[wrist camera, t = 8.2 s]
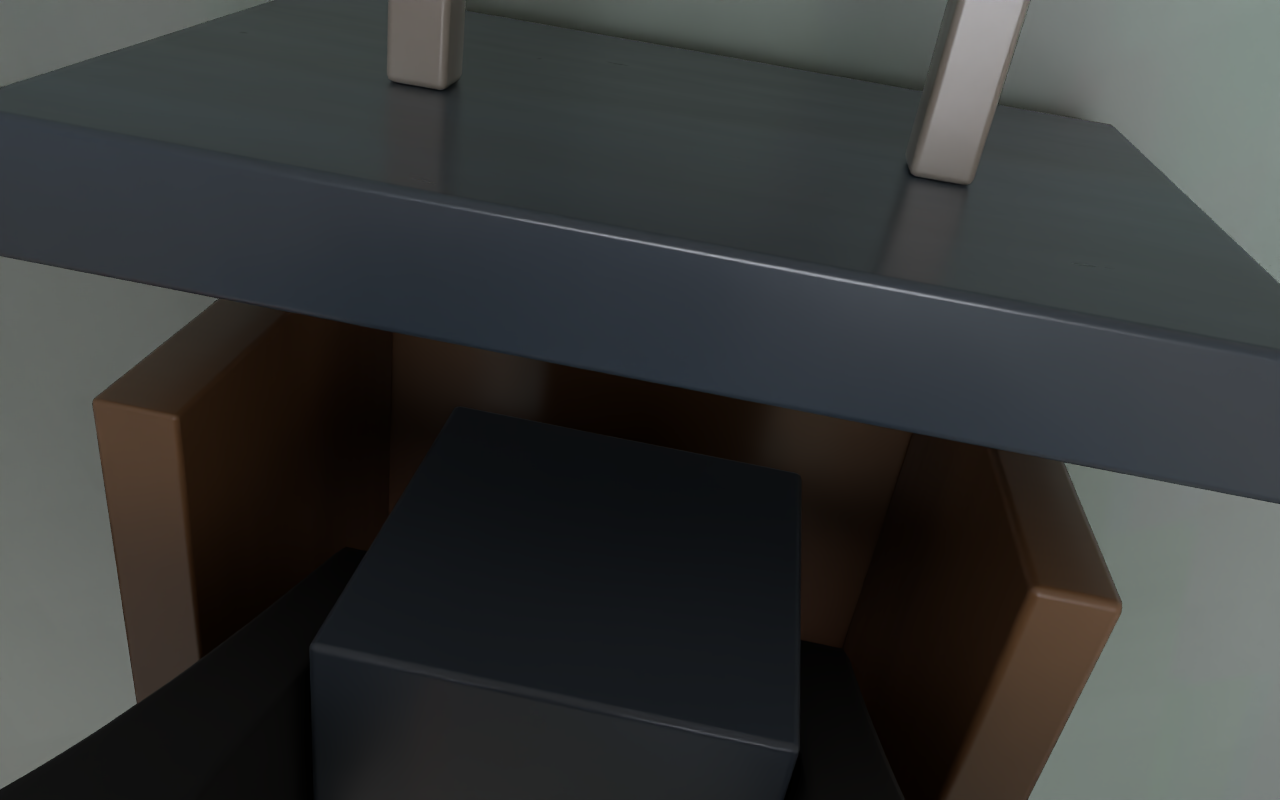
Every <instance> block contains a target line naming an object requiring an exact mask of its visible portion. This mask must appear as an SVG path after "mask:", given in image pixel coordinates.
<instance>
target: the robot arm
mask: <svg viewBox="0 0 1280 800" xmlns="http://www.w3.org/2000/svg"><path fill="white" fill-rule="evenodd" d="M366 552H367V551H364V550H359V549H354V548H349V547H345V548H343V549H341V550H340V551H338V552H336V553H335V554H334V555H332V556H331V557H330V558H329V559H328V560H326V561H325V562H324V563H323V564H321V565H320V566H319V567H318V568H316V569H315V570H314V571H313V572H311V573H310V574H309V575H308V576H307V577H305V578H304V579H303V580H302V581H300V582H299V583H298V584H297V585H295V586H294V587H293V588H292V589H290V590H289V591H288V592H287V593H286V594H284V595H283V596H282V597H281V598H279V599H278V600H277V601H276V602H274V603H273V604H272V605H270V606H269V607H268V608H267V609H265V610H264V611H263V612H262V613H260V614H259V615H258V616H257V617H255V618H254V619H253V620H251V621H250V622H249V623H248V624H246V625H245V626H244V627H242V628H241V629H240V630H238V631H237V632H236V633H234V634H233V635H232V636H230V637H229V638H228V639H226V640H225V641H224V642H222V643H221V644H220V645H218V646H217V647H216V648H214V649H213V650H212V651H210V652H209V653H208V654H206V655H205V656H204V657H202V658H201V659H200V660H198V661H197V662H196V663H194V664H193V665H192V666H190V667H189V668H188V669H186V670H185V671H184V672H182V673H181V674H179V675H178V676H177V677H175V678H174V679H172V680H171V681H170V682H168V683H167V684H165V685H164V686H162V687H161V688H159V689H158V690H156V691H155V692H154V693H152V694H151V695H149V696H148V697H146V698H145V699H143V700H142V701H140V702H139V703H137V704H136V705H134V706H133V707H132V708H130V709H129V710H127V711H126V712H124V713H123V714H121V715H120V716H118V717H117V718H115V719H114V720H112V721H111V722H110V723H108V724H107V725H105V726H104V727H102V728H101V729H99V730H98V731H96V732H94V733H93V734H91V735H90V736H88V737H87V738H85V739H83V740H82V741H80V742H79V743H77V744H76V745H74V746H72V747H71V748H69V749H68V750H66V751H64V752H63V753H61V754H60V755H58V756H56V757H55V758H53V759H51V760H50V761H48V762H46V763H45V764H43V765H42V766H40V767H38V768H36V769H35V770H33V771H31V772H30V773H28V774H26V775H25V776H23V777H21V778H19V779H18V780H16V781H14V782H13V783H11V784H9V785H7V786H6V787H4V788H2V789H1V790H0V800H314V799H313V763H312V728H311V692H310V657H309V646H310V644H311V643H312V641H313V639H314V638H315V636H316V634H317V633H318V631H319V629H320V628H321V626H322V624H323V623H324V621H325V620H326V618H327V616H328V615H329V613H330V611H331V610H332V608H333V606H334V605H335V603H336V602H337V600H338V598H339V597H340V595H341V593H342V592H343V590H344V588H345V587H346V585H347V583H348V582H349V580H350V579H351V577H352V575H353V574H354V572H355V570H356V569H357V567H358V565H359V564H360V562H361V561H362V559H363V557H364V556H365V554H366ZM784 800H905V798H904V796H903V794H902V792H901V790H900V787H899V785H898V783H897V781H896V778H895V776H894V774H893V771H892V769H891V767H890V765H889V762H888V760H887V757H886V755H885V753H884V750H883V748H882V745H881V743H880V740H879V738H878V735H877V733H876V730H875V728H874V726H873V723H872V720H871V718H870V715H869V713H868V710H867V707H866V705H865V702H864V699H863V697H862V694H861V691H860V688H859V685H858V682H857V680H856V677H855V674H854V671H853V668H852V665H851V662H850V659H849V657H848V656H847V655H846V653H845V652H844V650H843V649H842V648H837V647H832V646H827V645H822V644H818V643H813V642H808V641H803V640H801V644H800V751H799V754H798V757H797V761H796V764H795V767H794V770H793V773H792V776H791V779H790V782H789V786H788V789H787V792H786V795H785V798H784Z"/></svg>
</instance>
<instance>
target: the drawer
mask: <svg viewBox="0 0 1280 800" xmlns="http://www.w3.org/2000/svg"><path fill="white" fill-rule="evenodd" d="M1030 1H1031V0H948V2H947V6H946V9H945V13H944V17H943V20H942V24H941V27H940V31H939V35H938V38H937V42H936V45H935V49H934V53H933V56H932V60H931V63H930V67H929V71H928V74H927V78H926V81H925V85H924V89H923V91H918V90H912V89H907V88H901V87H895V86H890V85H884V84H879V83H873V82H867V81H862V80H856V79H850V78H845V77H839V76H833V75H828V74H822V73H816V72H811V71H805V70H799V69H794V68H788V67H782V66H777V65H771V64H765V63H760V62H754V61H748V60H743V59H737V58H732V57H726V56H720V55H715V54H709V53H703V52H698V51H692V50H686V49H681V48H675V47H669V46H664V45H658V44H652V43H647V42H641V41H635V40H630V39H624V38H618V37H613V36H607V35H601V34H596V33H590V32H584V31H579V30H573V29H568V28H562V27H556V26H551V25H545V24H539V23H534V22H528V21H522V20H517V19H511V18H505V17H500V16H494V15H488V14H483V13H477V12H471V11H466V10H465V6H466V0H273V1H270V2H267V3H264V4H261V5H258V6H255V7H251V8H248V9H245V10H242V11H239V12H236V13H233V14H229V15H226V16H223V17H220V18H217V19H214V20H211V21H207V22H204V23H201V24H198V25H195V26H192V27H189V28H186V29H182V30H179V31H176V32H173V33H170V34H167V35H164V36H160V37H157V38H154V39H151V40H148V41H145V42H142V43H138V44H135V45H132V46H129V47H126V48H123V49H120V50H117V51H113V52H110V53H107V54H104V55H101V56H98V57H95V58H91V59H88V60H85V61H82V62H79V63H76V64H73V65H69V66H66V67H63V68H60V69H57V70H54V71H51V72H47V73H44V74H41V75H38V76H35V77H32V78H29V79H26V80H22V81H19V82H16V83H13V84H10V85H7V86H4V87H0V256H3V257H8V258H13V259H18V260H24V261H29V262H34V263H39V264H44V265H49V266H55V267H60V268H65V269H70V270H75V271H80V272H85V273H91V274H96V275H101V276H106V277H111V278H116V279H122V280H127V281H132V282H137V283H142V284H147V285H153V286H158V287H163V288H168V289H173V290H178V291H184V292H189V293H194V294H199V295H204V296H209V297H214V298H219V299H218V300H217V301H215V302H214V303H213V304H212V305H210V306H209V307H208V308H207V309H205V310H204V311H203V312H202V313H200V314H199V315H198V316H197V317H195V318H194V319H193V320H192V321H190V322H189V323H188V324H187V325H185V326H184V327H183V328H182V329H180V330H179V331H178V332H177V333H175V334H174V335H173V336H172V337H170V338H169V339H168V340H167V341H165V342H164V343H163V344H162V345H160V346H159V347H158V348H157V349H155V350H154V351H153V352H152V353H150V354H149V355H148V356H147V357H145V358H144V359H143V360H142V361H140V362H139V363H138V364H137V365H135V366H134V367H133V368H132V369H130V370H129V371H128V372H127V373H125V374H124V375H123V376H122V377H120V378H119V379H118V380H117V381H115V382H114V383H113V384H112V385H110V386H109V387H108V388H107V389H105V390H104V391H103V392H102V393H100V394H99V395H98V396H96V397H95V398H94V400H93V403H92V405H93V412H94V418H95V425H96V432H97V439H98V445H99V452H100V459H101V465H102V472H103V479H104V486H105V492H106V499H107V506H108V513H109V519H110V526H111V533H112V539H113V546H114V553H115V560H116V566H117V573H118V580H119V587H120V593H121V600H122V607H123V614H124V620H125V627H126V634H127V640H128V647H129V654H130V661H131V667H132V674H133V681H134V688H135V694H136V701H137V703H139V702H140V701H142V700H143V699H145V698H146V697H148V696H149V695H151V694H152V693H154V692H155V691H156V690H158V689H159V688H161V687H162V686H164V685H165V684H167V683H168V682H170V681H171V680H172V679H174V678H175V677H177V676H178V675H179V674H181V673H182V672H184V671H185V670H186V669H188V668H189V667H190V666H192V665H193V664H194V663H196V662H197V661H198V660H200V659H201V658H202V657H204V656H205V655H206V654H208V653H209V652H210V651H212V650H213V649H214V648H216V647H217V646H218V645H220V644H221V643H222V642H224V641H225V640H226V639H228V638H229V637H230V636H232V635H233V634H234V633H236V632H237V631H238V630H240V629H241V628H242V627H244V626H245V625H246V624H248V623H249V622H250V621H251V620H253V619H254V618H255V617H257V616H258V615H259V614H260V613H262V612H263V611H264V610H265V609H267V608H268V607H269V606H270V605H272V604H273V603H274V602H276V601H277V600H278V599H279V598H281V597H282V596H283V595H284V594H286V593H287V592H288V591H289V590H290V589H292V588H293V587H294V586H295V585H297V584H298V583H299V582H300V581H302V580H303V579H304V578H305V577H307V576H308V575H309V574H310V573H311V572H313V571H314V570H315V569H316V568H318V567H319V566H320V565H321V564H323V563H324V562H325V561H326V560H328V559H329V558H330V557H331V556H332V555H334V554H335V553H336V552H338V551H340V550H341V549H343V548H345V547H349V548H354V549H359V550H364V551H368V549H369V547H370V546H371V544H372V543H373V541H374V539H375V538H376V536H377V534H378V533H379V531H380V529H381V528H382V526H383V524H384V523H385V521H386V520H387V518H388V516H389V515H390V513H391V511H392V510H393V508H394V506H395V505H396V503H397V502H398V500H399V498H400V497H401V495H402V493H403V492H404V490H405V488H406V487H407V485H408V484H409V482H410V480H411V479H412V477H413V475H414V474H415V472H416V470H417V469H418V467H419V465H420V464H421V462H422V461H423V459H424V457H425V456H426V454H427V452H428V451H429V449H430V447H431V446H432V444H433V443H434V441H435V439H436V438H437V436H438V434H439V433H440V431H441V429H442V428H443V426H444V424H445V423H446V421H447V420H448V418H449V416H450V415H451V413H452V411H453V410H454V408H455V407H460V406H461V407H466V408H471V409H476V410H481V411H486V412H491V413H496V414H501V415H507V416H512V417H517V418H522V419H527V420H532V421H537V422H542V423H547V424H552V425H557V426H562V427H567V428H572V429H577V430H582V431H587V432H592V433H597V434H602V435H607V436H612V437H617V438H622V439H627V440H633V441H638V442H643V443H648V444H653V445H658V446H663V447H668V448H673V449H678V450H683V451H688V452H693V453H698V454H703V455H708V456H713V457H718V458H723V459H728V460H733V461H738V462H743V463H748V464H754V465H759V466H764V467H769V468H774V469H779V470H784V471H789V472H794V473H797V474H799V475H800V476H801V480H802V494H801V640H803V641H808V642H813V643H818V644H822V645H827V646H832V647H837V648H842V649H843V650H844V652H845V653H846V655H847V656H848V657H849V659H850V662H851V665H852V668H853V671H854V674H855V677H856V680H857V682H858V685H859V688H860V691H861V694H862V697H863V699H864V702H865V705H866V707H867V710H868V713H869V715H870V718H871V720H872V723H873V726H874V728H875V730H876V733H877V735H878V738H879V740H880V743H881V745H882V748H883V750H884V753H885V755H886V757H887V760H888V762H889V765H890V767H891V769H892V771H893V774H894V776H895V778H896V781H897V783H898V785H899V787H900V790H901V792H902V794H903V796H904V798H905V800H1028V798H1029V796H1030V794H1031V792H1032V790H1033V788H1034V786H1035V784H1036V782H1037V780H1038V778H1039V776H1040V774H1041V772H1042V770H1043V768H1044V766H1045V764H1046V762H1047V760H1048V758H1049V756H1050V754H1051V752H1052V750H1053V748H1054V746H1055V744H1056V742H1057V740H1058V738H1059V736H1060V734H1061V732H1062V730H1063V728H1064V726H1065V724H1066V722H1067V720H1068V718H1069V716H1070V714H1071V712H1072V710H1073V708H1074V706H1075V704H1076V702H1077V700H1078V698H1079V696H1080V694H1081V692H1082V690H1083V688H1084V686H1085V684H1086V682H1087V680H1088V678H1089V676H1090V674H1091V672H1092V670H1093V668H1094V666H1095V664H1096V662H1097V660H1098V658H1099V656H1100V654H1101V652H1102V650H1103V648H1104V646H1105V644H1106V642H1107V640H1108V638H1109V636H1110V634H1111V632H1112V630H1113V628H1114V626H1115V624H1116V622H1117V620H1118V618H1119V616H1120V614H1121V611H1122V601H1121V599H1120V596H1119V594H1118V592H1117V589H1116V587H1115V584H1114V582H1113V580H1112V577H1111V575H1110V572H1109V570H1108V568H1107V565H1106V563H1105V560H1104V558H1103V555H1102V553H1101V551H1100V548H1099V546H1098V543H1097V541H1096V539H1095V536H1094V534H1093V531H1092V529H1091V526H1090V524H1089V522H1088V519H1087V517H1086V514H1085V512H1084V510H1083V507H1082V505H1081V502H1080V500H1079V497H1078V495H1077V493H1076V490H1075V488H1074V485H1073V483H1072V481H1071V478H1070V476H1069V473H1068V471H1067V469H1066V466H1065V464H1064V462H1066V463H1071V464H1076V465H1081V466H1087V467H1092V468H1097V469H1102V470H1107V471H1112V472H1118V473H1123V474H1128V475H1133V476H1138V477H1143V478H1149V479H1154V480H1159V481H1164V482H1169V483H1174V484H1179V485H1185V486H1190V487H1195V488H1200V489H1205V490H1210V491H1216V492H1221V493H1226V494H1231V495H1236V496H1241V497H1247V498H1252V499H1257V500H1262V501H1267V502H1272V503H1278V504H1280V284H1279V283H1278V282H1277V281H1276V280H1275V279H1274V278H1273V277H1272V276H1271V275H1270V274H1269V273H1268V272H1267V271H1266V270H1265V269H1264V268H1263V267H1262V266H1260V265H1259V264H1258V263H1257V262H1256V261H1255V260H1254V259H1253V258H1252V257H1251V256H1250V255H1249V254H1248V253H1247V252H1246V251H1245V250H1244V249H1243V248H1241V247H1240V246H1239V245H1238V244H1237V243H1236V242H1235V241H1234V240H1233V239H1232V238H1231V237H1230V236H1229V235H1228V234H1227V233H1226V232H1225V231H1224V230H1222V229H1221V228H1220V227H1219V226H1218V225H1217V224H1216V223H1215V222H1214V221H1213V220H1212V219H1211V218H1210V217H1209V216H1208V215H1207V214H1206V213H1205V212H1203V211H1202V210H1201V209H1200V208H1199V207H1198V206H1197V205H1196V204H1195V203H1194V202H1193V201H1192V200H1191V199H1190V198H1189V197H1188V196H1187V195H1186V194H1184V193H1183V192H1182V191H1181V190H1180V189H1179V188H1178V187H1177V186H1176V185H1175V184H1174V183H1173V182H1172V181H1171V180H1170V179H1169V178H1168V177H1167V176H1165V175H1164V174H1163V173H1162V172H1161V171H1160V170H1159V169H1158V168H1157V167H1156V166H1155V165H1154V164H1153V163H1152V162H1151V161H1150V160H1149V159H1148V158H1146V157H1145V156H1144V155H1143V154H1142V153H1141V152H1140V151H1139V150H1138V149H1137V148H1136V147H1135V146H1134V145H1133V144H1132V143H1131V142H1130V141H1129V140H1128V139H1126V138H1125V137H1124V136H1123V135H1122V134H1121V133H1120V132H1119V131H1118V130H1117V129H1116V128H1115V127H1113V126H1112V125H1110V124H1105V123H1099V122H1093V121H1088V120H1082V119H1076V118H1071V117H1065V116H1059V115H1054V114H1048V113H1043V112H1037V111H1031V110H1026V109H1020V108H1014V107H1009V106H1003V105H998V102H999V99H1000V96H1001V92H1002V89H1003V86H1004V83H1005V80H1006V77H1007V73H1008V70H1009V67H1010V64H1011V61H1012V58H1013V54H1014V51H1015V48H1016V45H1017V42H1018V39H1019V35H1020V32H1021V29H1022V26H1023V23H1024V20H1025V17H1026V13H1027V10H1028V7H1029V4H1030Z"/></svg>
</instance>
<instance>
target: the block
mask: <svg viewBox="0 0 1280 800" xmlns="http://www.w3.org/2000/svg"><path fill="white" fill-rule="evenodd" d="M801 494H802V480H801V476H800V475H799V474H797V473H794V472H789V471H784V470H779V469H774V468H769V467H764V466H759V465H754V464H748V463H743V462H738V461H733V460H728V459H723V458H718V457H713V456H708V455H703V454H698V453H693V452H688V451H683V450H678V449H673V448H668V447H663V446H658V445H653V444H648V443H643V442H638V441H633V440H627V439H622V438H617V437H612V436H607V435H602V434H597V433H592V432H587V431H582V430H577V429H572V428H567V427H562V426H557V425H552V424H547V423H542V422H537V421H532V420H527V419H522V418H517V417H512V416H507V415H501V414H496V413H491V412H486V411H481V410H476V409H471V408H466V407H461V406H460V407H455V408H454V410H453V411H452V413H451V415H450V416H449V418H448V420H447V421H446V423H445V424H444V426H443V428H442V429H441V431H440V433H439V434H438V436H437V438H436V439H435V441H434V443H433V444H432V446H431V447H430V449H429V451H428V452H427V454H426V456H425V457H424V459H423V461H422V462H421V464H420V465H419V467H418V469H417V470H416V472H415V474H414V475H413V477H412V479H411V480H410V482H409V484H408V485H407V487H406V488H405V490H404V492H403V493H402V495H401V497H400V498H399V500H398V502H397V503H396V505H395V506H394V508H393V510H392V511H391V513H390V515H389V516H388V518H387V520H386V521H385V523H384V524H383V526H382V528H381V529H380V531H379V533H378V534H377V536H376V538H375V539H374V541H373V543H372V544H371V546H370V547H369V549H368V551H367V552H366V554H365V556H364V557H363V559H362V561H361V562H360V564H359V565H358V567H357V569H356V570H355V572H354V574H353V575H352V577H351V579H350V580H349V582H348V583H347V585H346V587H345V588H344V590H343V592H342V593H341V595H340V597H339V598H338V600H337V602H336V603H335V605H334V606H333V608H332V610H331V611H330V613H329V615H328V616H327V618H326V620H325V621H324V623H323V624H322V626H321V628H320V629H319V631H318V633H317V634H316V636H315V638H314V639H313V641H312V643H311V644H310V646H309V657H310V692H311V728H312V763H313V799H314V800H784V798H785V795H786V792H787V789H788V786H789V782H790V779H791V776H792V773H793V770H794V767H795V764H796V761H797V757H798V754H799V751H800V644H801Z"/></svg>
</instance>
